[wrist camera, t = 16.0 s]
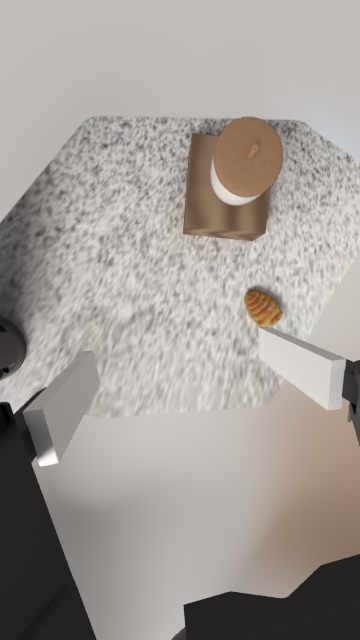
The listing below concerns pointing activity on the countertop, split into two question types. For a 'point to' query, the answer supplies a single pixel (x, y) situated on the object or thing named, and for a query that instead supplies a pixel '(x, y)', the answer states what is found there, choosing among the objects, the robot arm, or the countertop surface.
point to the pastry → (262, 308)
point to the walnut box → (218, 200)
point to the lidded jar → (245, 160)
